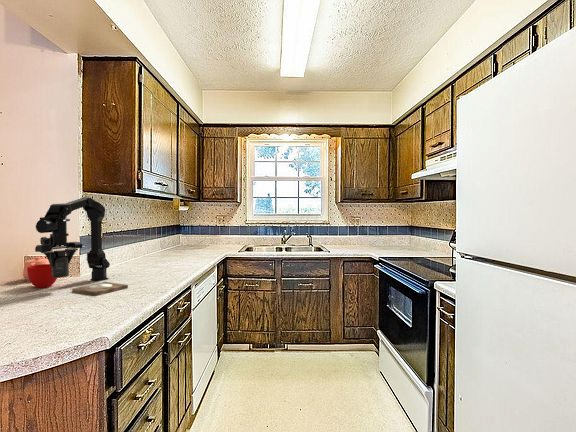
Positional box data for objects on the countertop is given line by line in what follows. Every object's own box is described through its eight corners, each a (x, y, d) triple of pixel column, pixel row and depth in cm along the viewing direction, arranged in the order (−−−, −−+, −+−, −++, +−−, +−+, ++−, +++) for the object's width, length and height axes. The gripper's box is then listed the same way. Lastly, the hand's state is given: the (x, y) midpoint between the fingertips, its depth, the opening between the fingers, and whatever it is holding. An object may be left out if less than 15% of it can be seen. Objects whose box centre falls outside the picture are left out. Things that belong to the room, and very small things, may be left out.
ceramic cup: (50, 281, 194) (50, 262, 194) (63, 286, 183) (63, 265, 183) (21, 285, 184) (20, 265, 184) (32, 290, 173) (32, 269, 173)
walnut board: (105, 284, 187) (104, 281, 186) (127, 287, 179) (127, 284, 179) (72, 291, 171) (72, 287, 171) (95, 295, 164) (95, 291, 164)
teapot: (44, 282, 192) (44, 258, 192) (17, 283, 189) (17, 259, 189) (56, 275, 212) (55, 254, 211) (31, 276, 208) (31, 254, 208)
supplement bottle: (72, 275, 175) (71, 249, 175) (62, 278, 169) (61, 251, 168) (58, 275, 176) (58, 249, 176) (47, 277, 169) (47, 251, 169)
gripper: (67, 229, 184) (68, 261, 184) (27, 232, 167) (28, 267, 167) (82, 230, 179) (83, 263, 179) (42, 233, 162) (43, 269, 162)
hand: (60, 265), depth 172 cm, fingers closed on supplement bottle, 7 cm apart
